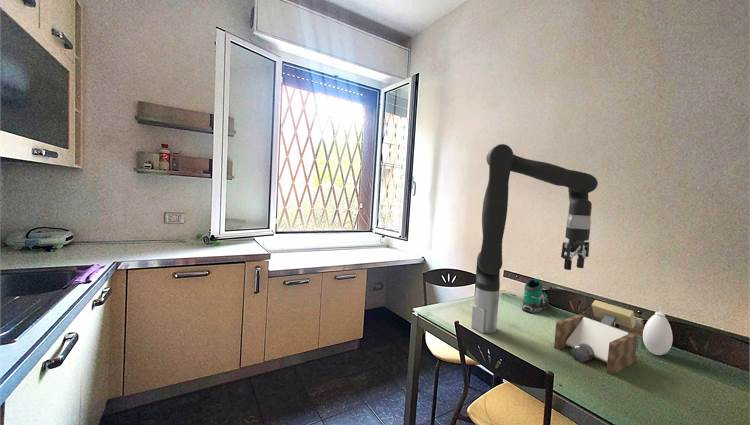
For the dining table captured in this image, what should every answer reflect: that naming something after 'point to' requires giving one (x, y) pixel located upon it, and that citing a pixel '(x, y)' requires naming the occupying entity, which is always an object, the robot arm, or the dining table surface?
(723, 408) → the dining table surface
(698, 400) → the dining table surface
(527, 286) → the sneaker
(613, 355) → the frame
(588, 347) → the cylinder
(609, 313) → the trapdoor
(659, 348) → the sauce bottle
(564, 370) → the dining table surface
